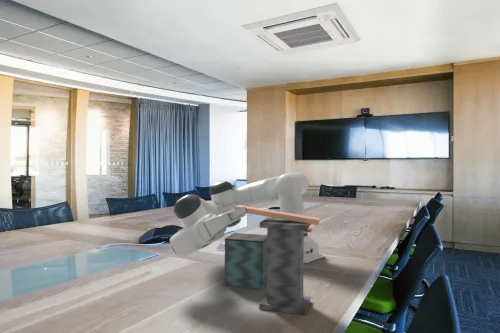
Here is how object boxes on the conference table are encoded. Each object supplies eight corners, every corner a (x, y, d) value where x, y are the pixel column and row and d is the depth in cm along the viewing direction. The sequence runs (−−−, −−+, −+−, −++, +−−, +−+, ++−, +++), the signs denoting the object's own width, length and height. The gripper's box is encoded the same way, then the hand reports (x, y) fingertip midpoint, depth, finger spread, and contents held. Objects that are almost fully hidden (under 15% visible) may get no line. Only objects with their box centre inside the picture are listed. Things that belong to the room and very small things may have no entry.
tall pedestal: (259, 308, 105) (259, 222, 104) (267, 296, 115) (267, 217, 114) (306, 314, 101) (306, 225, 100) (310, 301, 111) (310, 219, 110)
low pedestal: (224, 284, 125) (224, 238, 125) (233, 275, 135) (233, 232, 134) (262, 288, 121) (262, 241, 121) (269, 279, 131) (269, 235, 130)
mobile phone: (215, 249, 171) (219, 242, 186) (215, 251, 172) (219, 244, 186) (230, 249, 171) (233, 242, 186) (230, 251, 171) (233, 244, 186)
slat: (234, 211, 110) (235, 206, 110) (238, 209, 114) (239, 204, 113) (318, 225, 103) (318, 220, 102) (319, 222, 106) (319, 217, 106)
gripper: (228, 229, 124) (261, 211, 120) (204, 242, 104) (243, 221, 101) (219, 213, 124) (252, 195, 121) (195, 223, 105) (232, 202, 101)
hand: (248, 207), depth 111 cm, fingers closed on slat, 4 cm apart
